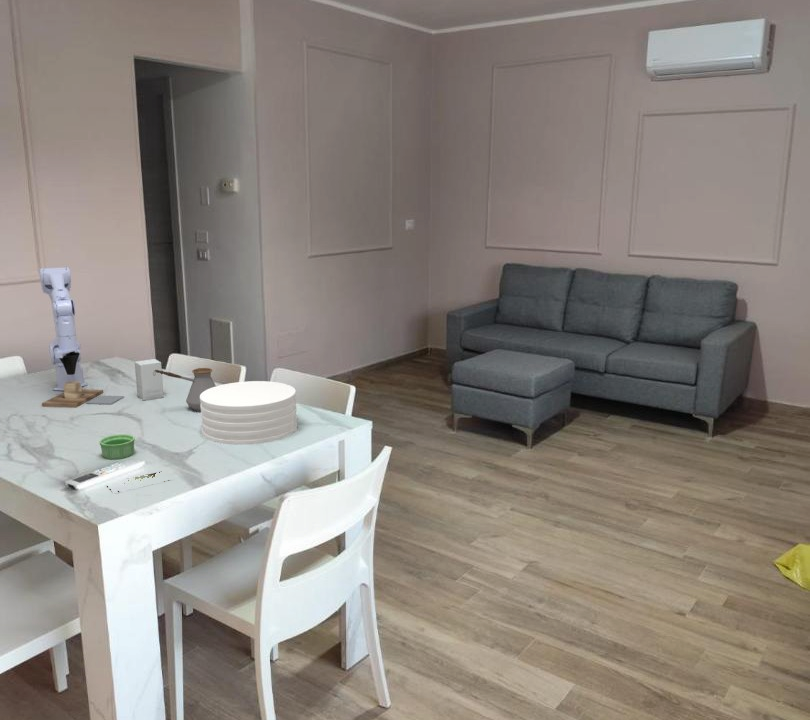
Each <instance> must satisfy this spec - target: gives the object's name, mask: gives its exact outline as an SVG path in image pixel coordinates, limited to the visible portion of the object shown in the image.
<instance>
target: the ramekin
mask: <svg viewBox="0 0 810 720" xmlns="http://www.w3.org/2000/svg"><path fill="white" fill-rule="evenodd" d="M135 441H136V440H135V436H134V435H131V434H112V435H108V436H105V437H103V438H101V439H100V440H99V445H100V448H101V454H102V457H103V458H104V459H107V460H120V459H125V458H129V457H131V456H132V455H133V454H134V453H135Z"/></svg>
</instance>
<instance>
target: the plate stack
mask: <svg viewBox="0 0 810 720" xmlns="http://www.w3.org/2000/svg"><path fill="white" fill-rule="evenodd" d="M296 393H297V392H296V389H295V387H294V386H292V385H289V384H287V383H283V382H277V381H267V380H262V381H261V380H252V381H247V380H246V381H238V382H237V381H236V382H229V383H224V384H220V385H216V387H212V388H210V389H207V390H205V391H204V392H202V393H201V394H200V402H201V404H200V408H201V411H200V415H201V416H200V418H201V420H200V421H201V428H202V429H201V431H202V432H201V433H202V436H203V438H205V439H206V440H209V441H212V442H213V443H219V444H223V445H224V444H225V445H235V446H236V445H241V446H242V445H254V444H256V445H258V444H264V443H269V442H273V441H278V440H281V439H283V438H286V437H288V436H290V435H292V434H294V433H295V432H296V431H297V428H298V421H297V420H298V419H297V418H298V417H297V416H298V415H297V406H296V405H297V398H296V395H297V394H296Z"/></svg>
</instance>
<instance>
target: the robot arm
mask: <svg viewBox="0 0 810 720" xmlns="http://www.w3.org/2000/svg"><path fill="white" fill-rule="evenodd" d="M39 280H40V285H41V290H42V292H43V294H46V295H48V296H49V299H50V301H51V308H52V314H53V322H54V331H55V336H56V337H55V338H54V339H53V340H52V341H51V342H50V343H49V358H50V364H52V365H54V366H55V373H56V381H57V382H56V384H57V387H55V388H53V389H52V391H63V392H64V387H63V384H65V383H67V382H69V381H75V382H81V388H82V387H85V386H86V385H88V384H87V383H86V382H85V376H84V368H83V366H82V364H81V363H80V362H81V361H82V357H81V356H82V355H81V350H82V346H81V343H79V341H78V340H77V331H76V322H75V316H76V306H75V302H74V299H73V298H71V294H70V291H71V288H72V276H71V270H70V268H69V267H68V266H65V267H47V268H46V267H41V268H39Z"/></svg>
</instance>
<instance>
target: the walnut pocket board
mask: <svg viewBox="0 0 810 720" xmlns="http://www.w3.org/2000/svg"><path fill="white" fill-rule="evenodd" d="M81 390H82V396H81V397H79V398H77V399H70V398H65V395H64V392H62V393H59V394H58V395H56V396H53V397H52V398H49V399H47V400H46V401H43V402H41V407H42V406H43V407H46V408H48V407H49V408H78V407H80V406H82V405H84V404H86V402H88V401H90V400H92V399H94V398H96V397H98V396H102V395H103V394H104V389H91V388H90V389H86V388H84V389H83V388H81ZM43 407H42V408H43Z"/></svg>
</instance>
